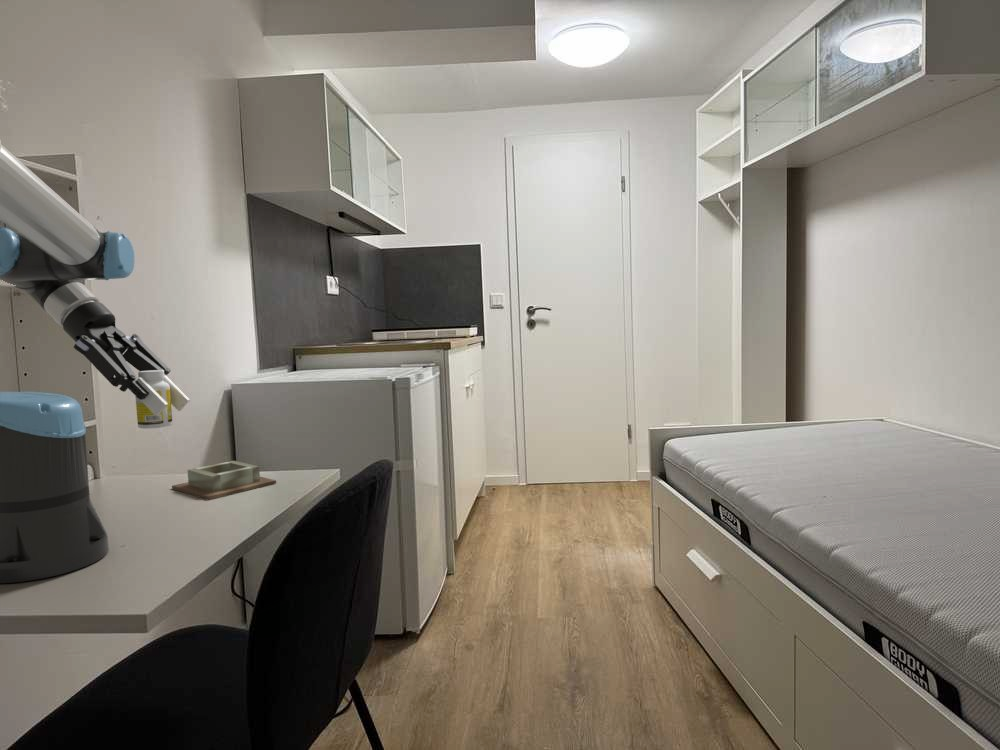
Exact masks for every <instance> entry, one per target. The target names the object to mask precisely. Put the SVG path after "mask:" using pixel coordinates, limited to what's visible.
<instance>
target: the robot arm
mask: <svg viewBox="0 0 1000 750" xmlns="http://www.w3.org/2000/svg"><path fill="white" fill-rule="evenodd" d="M1 142H2V141H1V140H0V221H1V222H2V223H4V224H5V225H7V226H8V227H9V228H8V227H4V226H2V225H0V281H2V280H3V281H2V282H4V281H5V282H4V283H6V282H7V284H9V283H10V284H9V285H11V284H13V285H16V286H13V287H14V288H16V289H18V290H20V291H23V292H25V293H26V294H27V295H29V296H30V297H31V298H32V299H33V300H34V301H35V302H36V303H37V304H38V305H39V306H40V307H41V308H42V309H43V310H44V311H45V312H46V313H47V314H49V316H50V317H51V318H52V319H53V320H54V322H55V323H56V324H58V325H59V326H60V327H62V328H63V330H64V332H65V333H66V334H67V335H68V336H69V337H70V338H71V339H72V340H73V341H74V342H75V343H74V345H73V348H74V350H76V351H77V352H79V353H80V354H82V355H83V356H84V357H85V358H86V359H87V360H88V361H89V363H91V364H92V365H93V366H94V368H96V370H97V371H98V372H99V373H100V374H101V375H102V376H103V377H104V378H105V379H106V380H107V381H108V382H109V384H111V385H112V386H113V387H115V388H117V387H119V386H120V387H119V389H118V390H120V391H121V392H126V391H127V390H129V391H130V392H131V393H132V394H133V395H134V396H136V397H137V398H139V399H140V400H141V401H142V402H143V403H144V404H145V405H146V406H147V408H148V409H149V410H150V411H151V412H152V413H153V414H154V415H155V416H158V415H159V414H160V413H161V412H162V411H163V410H164V408H165V407H166V406H167V405H168V403H167V402H166V401H165V400H164V399H163V398H162V397H161V396H160V395H159V394H158V393H157V392H156V391H155V390H154V389H153V388H152V387H151V386H150V385H149V384H148V383H147V382H146V381H145V380H144V379H143V378H142V377H141V378H138V377H137V375H136V374H135V372H134V371H133V369H132V368H131V367H130V366H132V367H133V368H135V369H136V370H137V371H138V372H139V371H149V370H164V375H165V377H164V378H163V381H164V382H166V383H168V384H169V386H170V396H171V406H173V408H175V409H176V410H177V411H178V412H179V411H182V410H183V409H184V407H186V406H187V404H188V403H189V402H190V400H191V398H189V397H188V396H187V395H186V394H185V393H184V392H183V391H182V390H181V389H180V388H179V386H177V385H176V383H174V381H172V380H171V379H170V378H169V377H168V375H169V373H171V370H172V369H171V368H170V367H168V365H167V364H166V363H165V362H163V361H162V360H161V358H160V357H158V356H157V354H156V353H154V351H152V350H151V349H150V348H149V347H148V345H146V344H145V343H144V341H143V340H142V338H141V336H139V335H138V334H136V333H132V334H131V336H128V335H126V334H125V333H124V332H123V331H122V330H120V329H119V328H118V327H116V316H115V315H114V313H112V311H110V309H108V308H107V307H106V305H105V304H104V303H102V302H100V299H99V298H97V296H96V295H95V294H94V293H92V291H90V290H89V289H88V288H87V287H86V285H84V284H83V283H82V282H81V281H82V280H84V281H85V280H86V281H87V280H90V281H91V280H92V281H93V280H97V281H99V280H101V281H102V280H105V281H109V280H114V279H115V280H116V279H125V278H129V276H130V275H131V274H132V273H133V270H134V268H135V250H134V247H133V245H132V242H131V241H130V239H129V237H128V236H127V235H126V234H124V233H122V232H112V231H106V232H104V231H103V232H101V231H99V230H98V229H97V228H96V227H95V226H94V225H93V224H91V222H89V221H88V220H87V219H86V218H85V217H84V216H83V215H81V214H80V213H79V212H78V211H77V210H76V209H74V207H73V206H71V205H70V204H69V203H68V202H67V201H66V200H65V199H64V198H62V197H61V196H60V195H59V194H58V193H57V192H55V191H54V189H52V188H51V187H50V185H49V186H48V185H47V184H46V183H45V182H44V180H43V179H41V178H40V177H38V176H37V175H36V174H35V173H34V172H33V171H32V170H31V169H30V168H28V167H27V166H26V165H25V164H24V163H23V162H22V161H21V160H20V159H18V158H17V157H16V156H15V155H14V154H13V153H12V152H10V150H8V149H7V148H6V147H5V146H4V145H2V143H1ZM136 397H135V398H136ZM83 415H84V414H83V409H82V406H81V404H80V403H79V402H78V401H77V399H75V398H73V397H71V396H68V395H64V394H60V393H51V392H41V391H0V584H13V583H21V582H22V583H23V582H29V581H35V580H37V581H38V580H41V579H48V578H50V577H55V576H60V575H63V574H66V573H70V572H73V571H77V570H79V569H82V568H84V567H88V566H89V565H91V564H94V563H96V562H98V561H99V560H101V559H102V558H104V557H106V556H107V554H108V553H109V551H110V549H109V548H110V547H109V537H108V534H107V533H108V532H107V531H106V530H105V527H104V525H103V523H102V521H101V519H100V517H99V515H98V513H97V510H96V509H95V506H94V505H93V503H92V500H91V496H90V495H91V493H90V482H89V467H88V457H87V456H88V453H87V441H86V433H87V428H86V425H85V422H84V421H85V419H84V416H83Z"/></svg>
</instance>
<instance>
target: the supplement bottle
mask: <svg viewBox="0 0 1000 750" xmlns="http://www.w3.org/2000/svg"><path fill="white" fill-rule="evenodd" d="M137 372H138V377H137V379H138V378H141V377H142V378H143V379H144V380H145V381H146V382H147V383H148V384H149V385H150V386H151V387H152V388H153V389H154V390H155V391H156V392H157V393H158V394H159V395H160V396H161V397H162V398H163V399H164V400H165V401H166V402H167V403H168V405H167V406H166V407H165V408H164V410H163V411H162V412H161V413H160V414H159V415H158V416H155V415H154V414H153V413H152V412H151V411H150V410H149V409H148V408H147V406H146V405H145V404H144V403H143V402H142V401H141V400H140V399H139V398H137V397H136V396H135V395H134V396H135V408H136V419H137V427H138V428H139V429H158V428H165V427H170V426H172V425H173V410H172V404H171V396H170V386H169V384H168V383H166V382H164V381H163V378H164V377H165V375H164V370H149V371H139V370H138V371H137Z"/></svg>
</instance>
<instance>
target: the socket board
mask: <svg viewBox="0 0 1000 750" xmlns="http://www.w3.org/2000/svg"><path fill="white" fill-rule="evenodd" d="M260 472H261V471H260V466H259V465H254V464H250V463H246V462H242V461H237V460H230V461H226V462H220V463H214V464H210V465H205V466H200V467H194V468H190V469H187V481H186V482H182V483H178V484H174V485H172V486H171V489H173V490H174V491H178V492H182V493H185V494H189V495H191V496H195V497H198V498H202V499H205V500H208V501H209V500H214V499H218V498H222V497H226V496H231V495H234V493H235V494H238V493H243V492H246V491H251V490H254V489H258V488H262V487H267V486H271V485H270V484H272V485H275V484H274V483H276V484H277V480H275V479H272V478H269V477H263V476H261V475H260Z"/></svg>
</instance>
